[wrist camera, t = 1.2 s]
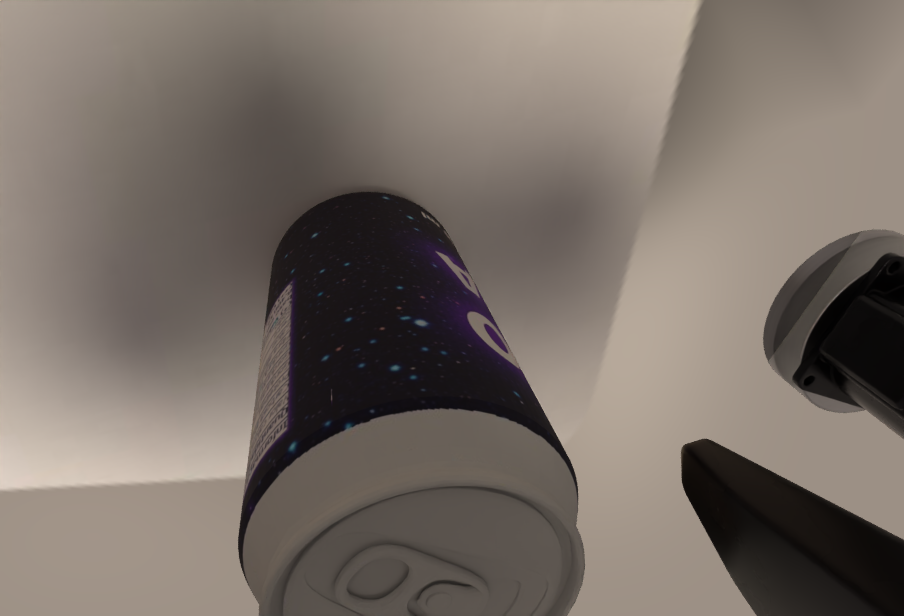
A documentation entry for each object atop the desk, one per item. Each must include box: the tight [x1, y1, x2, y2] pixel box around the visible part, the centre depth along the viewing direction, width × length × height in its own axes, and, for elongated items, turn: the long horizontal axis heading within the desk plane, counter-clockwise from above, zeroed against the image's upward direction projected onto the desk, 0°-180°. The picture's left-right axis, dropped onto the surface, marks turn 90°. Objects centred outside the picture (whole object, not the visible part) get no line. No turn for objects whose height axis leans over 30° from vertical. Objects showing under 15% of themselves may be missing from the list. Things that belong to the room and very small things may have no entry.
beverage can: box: [238, 192, 585, 616], centre depth 14 cm, size 6×6×12 cm
